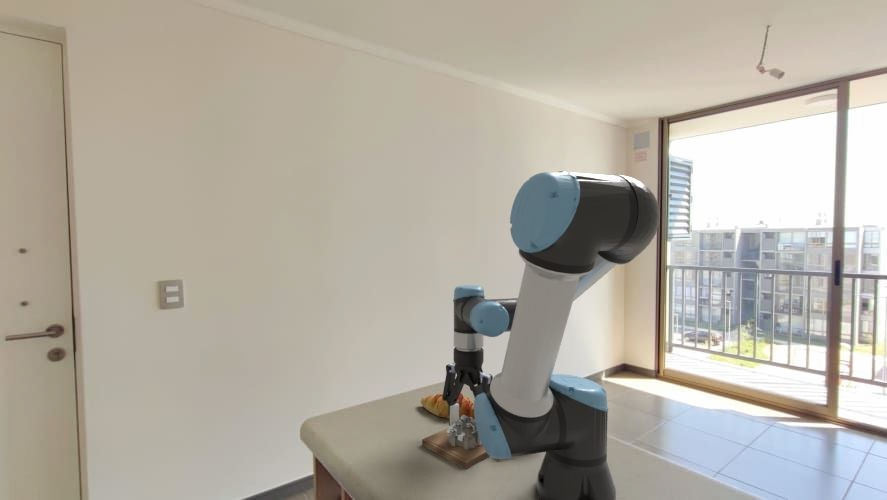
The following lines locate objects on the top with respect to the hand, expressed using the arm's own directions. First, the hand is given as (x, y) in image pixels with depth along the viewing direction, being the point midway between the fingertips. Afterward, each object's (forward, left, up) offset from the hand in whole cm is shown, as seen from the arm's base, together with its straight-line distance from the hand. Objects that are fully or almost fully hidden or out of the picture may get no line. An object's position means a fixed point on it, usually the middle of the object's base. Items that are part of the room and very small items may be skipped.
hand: (468, 436), depth 104 cm
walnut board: (0, 0, -2) cm, 2 cm away
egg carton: (0, +1, -1) cm, 1 cm away
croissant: (+16, -10, -2) cm, 19 cm away
